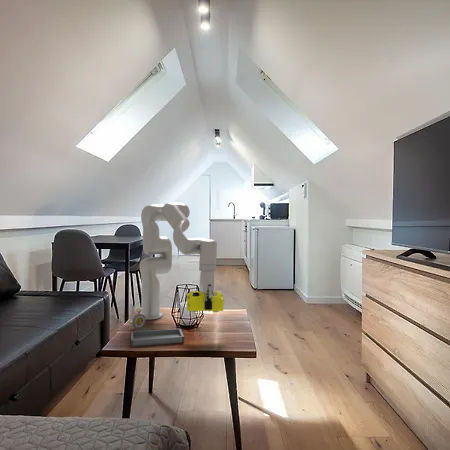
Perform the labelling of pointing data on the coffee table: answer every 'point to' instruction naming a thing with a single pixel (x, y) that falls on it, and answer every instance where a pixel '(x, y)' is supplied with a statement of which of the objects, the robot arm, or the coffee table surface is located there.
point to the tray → (156, 337)
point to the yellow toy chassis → (198, 301)
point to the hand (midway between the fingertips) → (206, 307)
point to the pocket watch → (138, 320)
